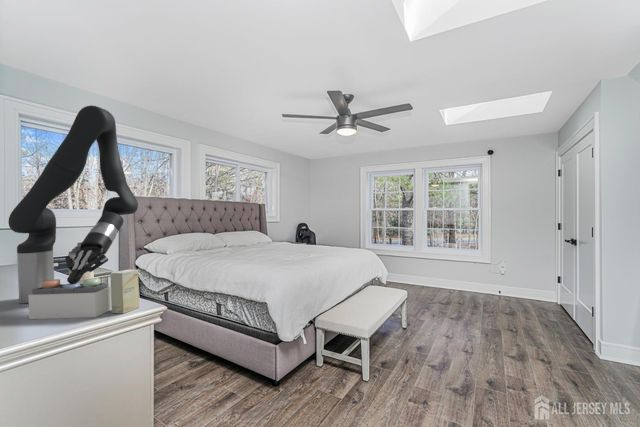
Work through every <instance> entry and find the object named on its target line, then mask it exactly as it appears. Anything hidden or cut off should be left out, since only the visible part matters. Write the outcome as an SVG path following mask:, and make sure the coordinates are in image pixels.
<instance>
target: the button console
mask: <svg viewBox="0 0 640 427" xmlns="http://www.w3.org/2000/svg"><path fill="white" fill-rule="evenodd" d="M63 285H65V283H63V284H61V283H60V287H56V288H53V289H42V287H40V288H37V289H33V290H32V293H33V294H31V295H28V297H29V303H28V316H29V317H28V319H29V320H47V319H49V320H50V319H82V318H85V319H86V318H97V317H99V316H101V315H103V314H105V313H107V312H109V311H112V308H111V286H109V282H100V285H99V286H96V287H91V288H83V284H80V286H78V287H75V288H63Z"/></svg>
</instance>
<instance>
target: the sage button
mask: <svg viewBox="0 0 640 427" xmlns="http://www.w3.org/2000/svg"><path fill="white" fill-rule="evenodd" d="M100 283H101V278H100V277H94V278H92V279H86V280H83V288H91V287H96V286H99V285H100Z"/></svg>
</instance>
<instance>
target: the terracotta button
mask: <svg viewBox="0 0 640 427" xmlns="http://www.w3.org/2000/svg"><path fill="white" fill-rule="evenodd" d="M60 284H61V279H60V278H59V279H58V278H56V279H55V278H54V280H47V281H43V282H42V289H53V288H56V287H60Z"/></svg>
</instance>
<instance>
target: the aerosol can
mask: <svg viewBox="0 0 640 427" xmlns="http://www.w3.org/2000/svg"><path fill="white" fill-rule="evenodd" d="M82 242H83V241H82ZM82 242H77V243H76V246H75V247H74V248H72V250H70V251H68V255H67V256H70V257H71V256H74V255H75V254H76V252H77V251H79V250H80V248H81V243H82ZM93 266H94V265H93ZM93 266H92V267H93ZM71 272H72V271H71V270H69V269H68V276H69V275H70V274H71ZM94 272H95V270H93V271H92V272H89V271H88V272H86V273H85V274H83V276H82V277H81V279H80V281H78V282H77V283H80V284H83V280H86V279H92V278H95V276H94V275H95V274H94Z"/></svg>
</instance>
